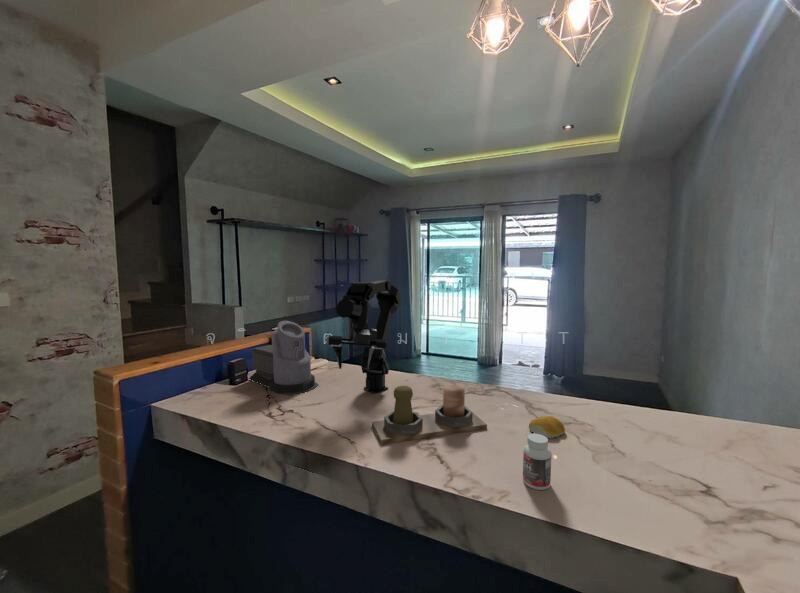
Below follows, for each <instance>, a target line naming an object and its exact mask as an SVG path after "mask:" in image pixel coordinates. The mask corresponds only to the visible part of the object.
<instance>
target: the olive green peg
mask: <svg viewBox="0 0 800 593" xmlns="http://www.w3.org/2000/svg"><path fill="white" fill-rule="evenodd" d="M413 394H414V392H413V389H412V388H411V387H410V386H408V385H399V386H396V387H395V388H394V389H393V397H394V399H395V402H394V408H393V409H394V410H393V411H394V416H393V423H396V424H400V425H404V424H411V423H414V421H413V414H412V412H413V408H412V398H413V396H414V395H413Z"/></svg>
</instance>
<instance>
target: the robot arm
mask: <svg viewBox="0 0 800 593" xmlns="http://www.w3.org/2000/svg"><path fill="white" fill-rule="evenodd" d="M392 284H393V283H392V282H391V280H388V279H378V280H376V281H370V282H369V281H368V282H367V281H352V282H351V283H350V285H349V287H348V289H347V291H346V292H345V294H344V295H342V299H340V300H339V301H338V302H337V305H336V306H335V307H336V308H335V309H336V310H335V312H336V314H337V315H338V316H339V317H340V318H341V319H349V325H348V326H349V327H348V337H347V338H344V337H343V338H342V336H339V335H328V336H327V337H326V342H325V343H326V345H328V346H329V348H331V349H333V350H334V354H335V357H336V361H337V364H338V369H340V370H341V369H342V363H343V362H342V358H343V357H342V351H343V347H342V346H341V345H355V346H365V347H364V348H363V353H362V355H361V358H360V367H361V371H362V374H366V377H365V386H364V387H363V390H366V391H368V392H370V393H373V394H376V393H379V392H383V391H386V390H388V389H389V387H388V386H386V375H389V371H390V364H389V363H388V361H387V355H386V353H385V350H384V349H388V341H387V337H388V333H389V329H390V324H391V320H392V317H393V314H394V313H395V312H397V311H398V309H399V306H400V304H401V302H402V298H401V297H402V296H401V293H400V292H399V291H400V290H399V289H398V288H396V287H395V286H394V285H392ZM375 297H376V300H377V305H378V308H379V313H378V317H377V321H376V324H375V327H374V328H375V329H374V328H370V329H369V323H368V321H369V312H370V311H369V309H371V308H372V307H371V304H370V303H369V301H370V300H372V299H373V298H375Z"/></svg>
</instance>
